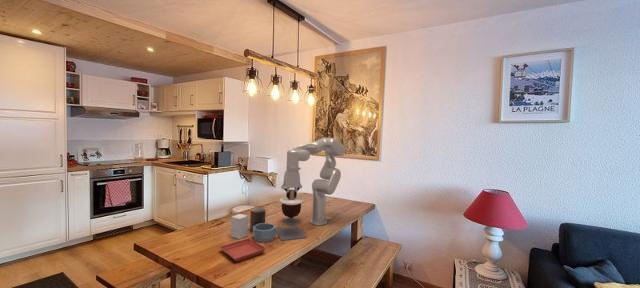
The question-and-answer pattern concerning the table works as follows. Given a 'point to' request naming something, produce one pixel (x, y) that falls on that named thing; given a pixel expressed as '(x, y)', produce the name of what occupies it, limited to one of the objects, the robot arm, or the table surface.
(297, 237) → the mat
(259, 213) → the grey cylinder
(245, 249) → the plant saucer
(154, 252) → the table surface
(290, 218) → the mate gourd
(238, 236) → the supplement box
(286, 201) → the lid
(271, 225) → the bowl
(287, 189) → the robot arm
